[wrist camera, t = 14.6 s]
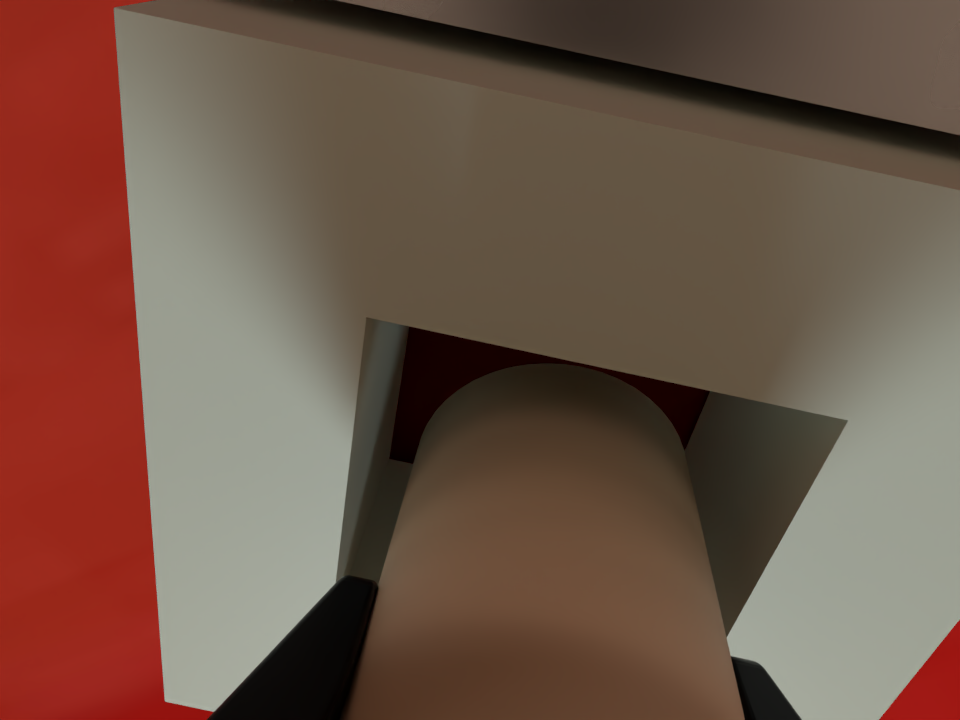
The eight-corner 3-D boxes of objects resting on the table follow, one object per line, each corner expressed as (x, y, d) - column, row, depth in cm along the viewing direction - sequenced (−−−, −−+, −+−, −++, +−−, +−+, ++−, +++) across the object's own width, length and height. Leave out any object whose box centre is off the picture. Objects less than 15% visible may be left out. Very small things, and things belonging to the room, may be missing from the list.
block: (737, 628, 16) (787, 833, 13) (256, 526, 16) (165, 701, 12) (1014, 140, 11) (1254, 254, 7) (273, -20, 10) (113, 7, 7)
